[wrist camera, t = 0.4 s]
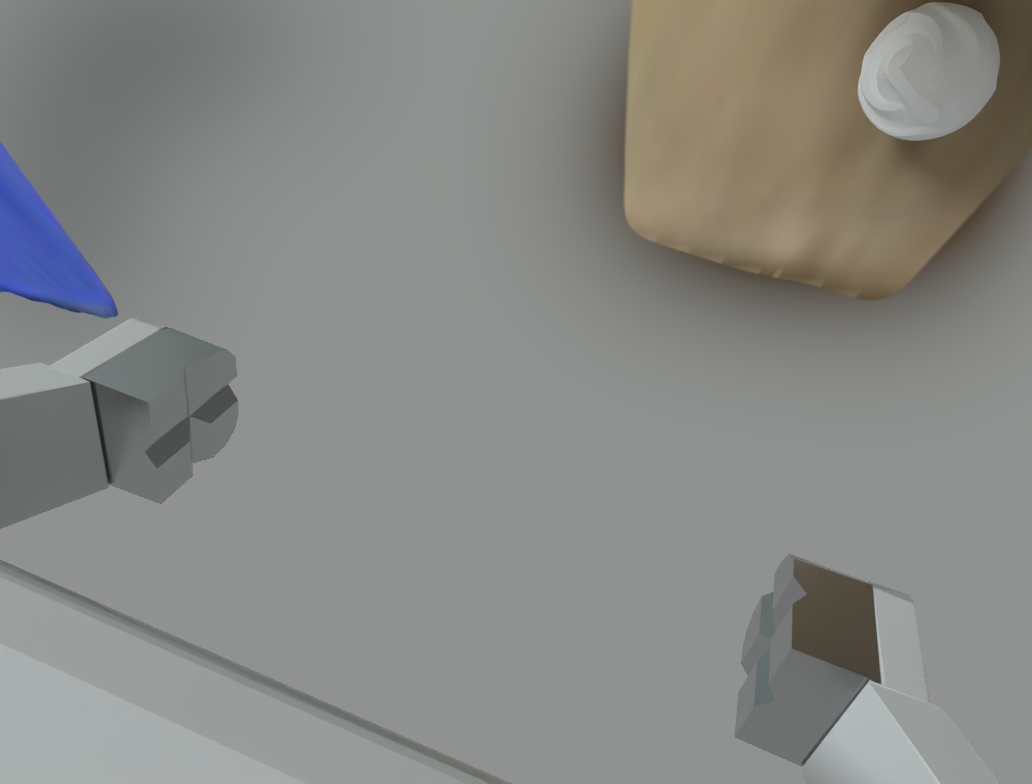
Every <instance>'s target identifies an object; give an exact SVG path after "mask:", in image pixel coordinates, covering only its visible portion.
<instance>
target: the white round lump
mask: <svg viewBox="0 0 1032 784" xmlns="http://www.w3.org/2000/svg"><path fill="white" fill-rule="evenodd" d="M999 66H1000V51H999V46H998V42H997V38H996V36H995V34H994V32H993V30H992V29H991V27H990V26H989V25H988V23H987V22H986V21H985V20H984V17H983V15H982V13H980V12H978V11H976V10H974V9H972V8H970V7H967V6H964V5H960V4H955V3H947V2H930V3H926V4H924V5H922V6H920V7H918V8H917V9H913V10H910V11H907V12H905V13H903V14H902V15H900V16H898V17H897V18H896V19H894V20H893V21H892V22H891V23H889V24H888V25H887V26H886V27H885V28H884V29H883V31H882V32H881V33H880V34H879V35H878V37H877V38H876V39H875V40H874V42H873V43H872V44H871V46H870V47H869V49H868V50H867V52H866V53H865V56H864V59H863V63H862V69H861V74H860V77H859V81H858V97H859V101H860V104H861V106H862V109H863V111H864V112H865V114H866V116H867V117H868V118H869V120H870V121H871V122H872V123H873V124H874V125H875V126H876V127H877V128H878V129H880V130H881V131H883V132H885V133H887V134H889V135H891V136H893V137H896V138H899V139H903V140H912V141H919V140H928V139H934V138H938V137H942V136H945V135H948V134H950V133H952V132H954V131H956V130H958V129H960V128H961V127H963V126H964V125H966V124H967V123H969V122H970V121H971V120H972V119H973V118H974V117H975V116H976V115H977V114H978V113H979V112H980V111H981V110H982V109H983V107H984V106H985V105H986V103H987V102H988V101H989V99H990V98H991V96H992V95H993V93H994V92H995V90H996V85H997V81H996V80H997V77H998V72H999Z"/></svg>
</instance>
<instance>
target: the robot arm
mask: <svg viewBox="0 0 1032 784" xmlns="http://www.w3.org/2000/svg"><path fill="white" fill-rule="evenodd" d="M236 376H237V370H236V359H235V356H234V355H233V354H231V353H230V352H229V351H228V350H226V349H223V348H221V347H218V346H216V345H213V344H211V343H208V342H205V341H203V340H200V339H198V338H195V337H193V336H190V335H188V334H185V333H183V332H180V331H177V330H175V329H172V328H167V327H166V326H163V325H160V324H158V323H155V322H153V321H150V320H148V319H145V318H131V319H129V320H127V321H125V322H124V323H122V324H120V325H119V326H117V327H115V328H114V329H112V330H110V331H108V332H107V333H105V334H103V335H102V336H100V337H98V338H96V339H95V340H93V341H91V342H90V343H88V344H86V345H84V346H83V347H81V348H79V349H77V350H76V351H74V352H73V353H71V354H69V355H68V356H66V357H64V358H62V359H61V360H59V361H57V362H55V363H54V364H52V365H50V366H48V365H45V364H42V363H36V364H29V365H23V366H17V367H11V368H5V369H0V529H1V528H4V527H6V526H9V525H12V524H14V523H17V522H19V521H22V520H25V519H27V518H30V517H32V516H35V515H38V514H40V513H43V512H46V511H48V510H51V509H54V508H56V507H59V506H62V505H64V504H66V503H69V502H72V501H74V500H77V499H80V498H83V497H85V496H88V495H90V494H93V493H96V492H98V491H101V490H103V489H106V488H108V487H109V485H112V486H114V487H117V488H120V489H123V490H125V491H128V492H130V493H133V494H136V495H138V496H141V497H144V498H147V499H149V500H152V501H155V502H157V503H160V504H162V503H163V502H164V501H165V500H166V499H167V498H168V497H169V496H171V495H172V494H173V493H174V492H175V491H176V490H177V489H178V488H179V487H181V486H182V485H183V484H184V483H185V482H186V481H187V480H188V479H189V478H191V477H192V475H193V463H195V462H199V461H202V460H206V459H209V458H213V457H214V456H215V455H216V454H217V453H218V452H219V451H220V450H221V449H222V448H223V447H224V446H225V445H226V443H227V441H228V440H229V438H230V436H231V435H232V433H233V431H234V429H235V426H236V421H237V417H238V400H237V398H236V396H235V395H234V393H233V391H232V390H231V388H230V386H229V385H228V384H229V383H230V382H231V381H232V380H233V379H234V378H235V377H236ZM108 484H109V485H108ZM741 664H742V666H743V668H744V669H745V671H746V673H747V675H748V677H747V679H746V681H745V682H744V684H743V686H742V687H741V689H740V691H739V694H738V706H737V718H736V729H735V737H736V738H738V739H740V740H743V741H745V742H747V743H749V744H752V745H754V746H756V747H758V748H761V749H763V750H765V751H768V752H770V753H772V754H775V755H777V756H779V757H782V758H784V759H786V760H788V761H791V762H793V763H795V764H797V765H800V766H802V768H801V771H802V774H803V776H804V778H805V781H806V783H807V784H999V782H998V781H997V780H996V778H995V777H994V776H993V774H992V773H991V772H990V770H989V769H988V768H987V767H986V765H985V764H984V762H983V761H982V760H981V759H980V757H979V756H978V755H977V753H976V752H975V751H974V749H973V748H972V747H971V745H970V744H969V743H968V741H967V740H966V739H965V738H964V736H963V735H962V734H961V732H960V731H959V730H958V728H957V727H956V726H955V725H954V723H953V722H952V720H951V719H950V718H949V716H948V715H947V714H946V712H945V711H944V710H943V708H940V707H937V706H935V705H932V704H930V700H929V694H928V688H927V682H926V675H925V669H924V662H923V657H922V650H921V644H920V638H919V631H918V625H917V619H916V612H915V606H914V601H913V600H912V599H911V597H910V596H909V595H907V594H904V593H902V592H899V591H896V590H893V589H890V588H887V587H884V586H881V585H878V584H875V583H872V582H869V581H868V582H866V581H864V580H861V579H858V578H855V577H852V576H850V575H847V574H844V573H841V572H838V571H836V570H833V569H830V568H827V567H825V566H822V565H819V564H816V563H813V562H810V561H808V560H805V559H802V558H799V557H796V556H794V555H791V554H789V555H788V556H787V557H786V558H785V559H784V560H783V561H782V562H781V564H780V566H779V567H778V569H777V571H776V573H775V578H774V592H772V593H770V594H767V595H764V596H762V597H761V599H760V601H759V603H758V605H757V607H756V609H755V611H754V612H753V615H752V618H751V621H750V623H749V626H748V629H747V632H746V636H745V641H744V646H743V653H742V662H741ZM0 784H512V783H509V782H507V781H505V780H502V779H500V778H498V777H495V776H493V775H491V774H489V773H486V772H484V771H482V770H479V769H477V768H474V767H472V766H470V765H468V764H466V763H463V762H461V761H458V760H456V759H454V758H452V757H450V756H447V755H445V754H443V753H440V752H438V751H436V750H434V749H431V748H429V747H427V746H424V745H422V744H419V743H417V742H415V741H413V740H410V739H408V738H406V737H404V736H401V735H399V734H397V733H394V732H392V731H390V730H387V729H385V728H383V727H381V726H378V725H376V724H374V723H371V722H369V721H367V720H365V719H362V718H360V717H358V716H355V715H353V714H351V713H349V712H346V711H344V710H342V709H340V708H338V707H335V706H333V705H330V704H328V703H326V702H324V701H322V700H319V699H317V698H315V697H312V696H310V695H308V694H306V693H303V692H301V691H299V690H296V689H294V688H292V687H290V686H287V685H285V684H283V683H281V682H278V681H276V680H273V679H271V678H269V677H267V676H265V675H262V674H260V673H258V672H255V671H253V670H251V669H249V668H246V667H244V666H242V665H240V664H237V663H235V662H232V661H230V660H228V659H226V658H224V657H221V656H219V655H216V654H214V653H212V652H210V651H208V650H205V649H203V648H201V647H199V646H196V645H194V644H192V643H189V642H187V641H185V640H183V639H180V638H178V637H176V636H173V635H171V634H169V633H167V632H164V631H162V630H160V629H157V628H155V627H153V626H150V625H148V624H146V623H144V622H141V621H139V620H137V619H135V618H132V617H130V616H128V615H125V614H123V613H121V612H119V611H116V610H114V609H112V608H109V607H107V606H105V605H102V604H100V603H98V602H96V601H93V600H91V599H89V598H86V597H84V596H82V595H80V594H78V593H75V592H73V591H71V590H68V589H66V588H64V587H62V586H59V585H57V584H55V583H52V582H50V581H47V580H45V579H43V578H41V577H39V576H36V575H34V574H32V573H30V572H27V571H25V570H23V569H20V568H18V567H16V566H14V565H11V564H8V563H7V562H4V561H2V560H0Z"/></svg>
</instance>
